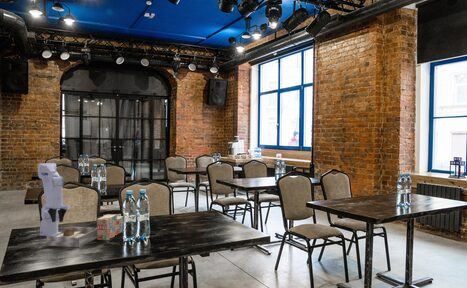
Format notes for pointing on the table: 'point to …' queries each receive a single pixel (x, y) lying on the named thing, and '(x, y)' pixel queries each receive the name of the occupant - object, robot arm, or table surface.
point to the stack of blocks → (109, 226)
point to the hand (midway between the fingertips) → (57, 221)
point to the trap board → (73, 237)
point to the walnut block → (68, 231)
